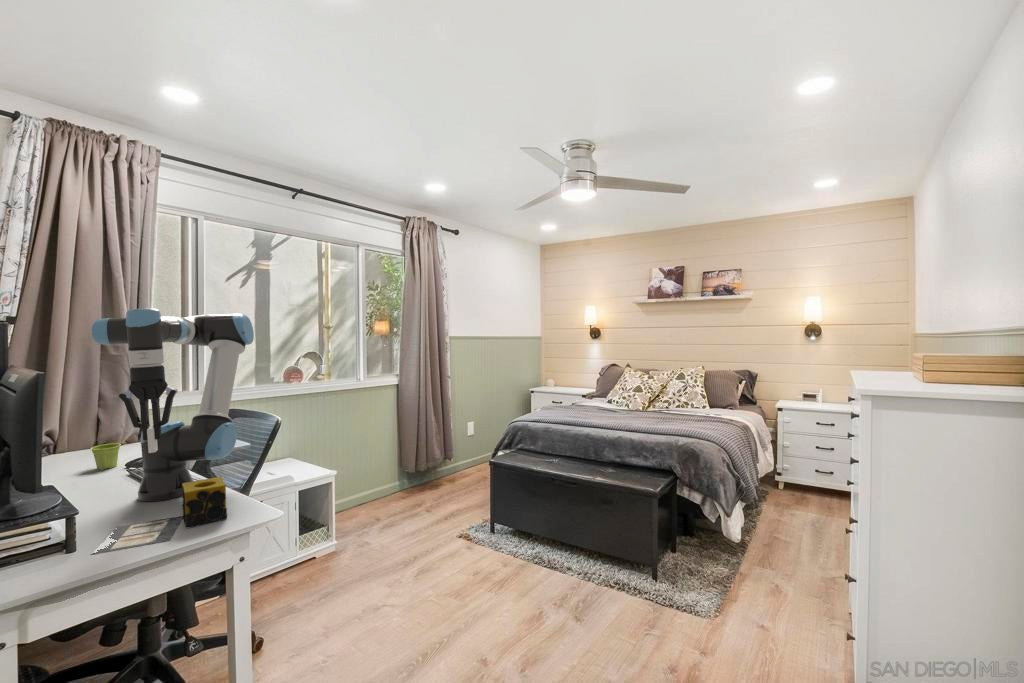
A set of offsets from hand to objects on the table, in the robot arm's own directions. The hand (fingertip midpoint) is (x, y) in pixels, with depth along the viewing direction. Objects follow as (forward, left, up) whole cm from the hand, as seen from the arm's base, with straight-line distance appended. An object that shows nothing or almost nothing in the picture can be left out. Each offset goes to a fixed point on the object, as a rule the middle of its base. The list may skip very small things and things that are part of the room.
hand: (153, 451), depth 133 cm
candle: (+1, +11, -21) cm, 24 cm away
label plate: (+4, -3, -21) cm, 21 cm away
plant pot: (-82, -36, -21) cm, 92 cm away
